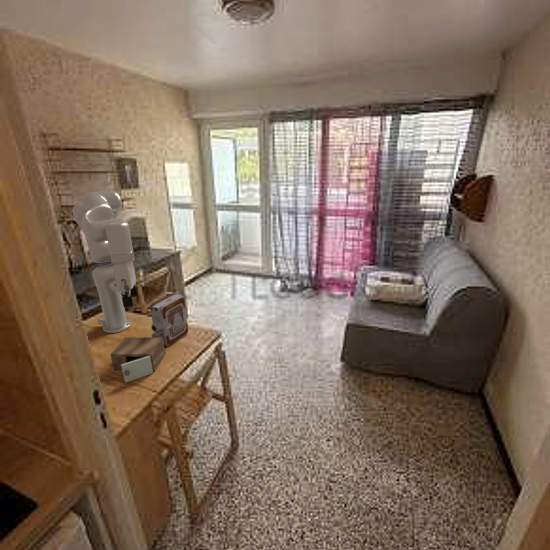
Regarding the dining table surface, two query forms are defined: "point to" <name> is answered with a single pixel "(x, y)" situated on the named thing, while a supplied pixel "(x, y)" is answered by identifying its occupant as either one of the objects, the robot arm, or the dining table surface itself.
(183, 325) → the cine camera
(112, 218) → the robot arm
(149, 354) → the camera case
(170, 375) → the dining table surface
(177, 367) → the dining table surface
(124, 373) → the case door
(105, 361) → the dining table surface
